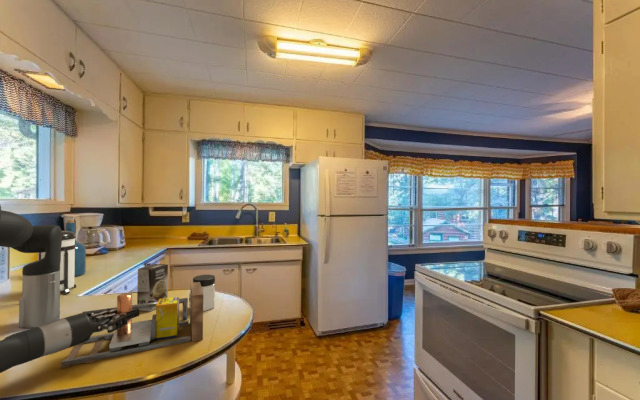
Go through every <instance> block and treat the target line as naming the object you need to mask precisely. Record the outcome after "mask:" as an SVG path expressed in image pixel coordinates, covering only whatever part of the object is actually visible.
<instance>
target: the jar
mask: <svg viewBox="0 0 640 400" xmlns="http://www.w3.org/2000/svg"><path fill="white" fill-rule="evenodd" d="M194 282H200V284H201V288H202V291H203V312H206V311H209V310H213V309H214V308H215V299H216V297H215V296H216V295H215V294H216V290H215V285H216V284H215V283H216V276H215V275H214V274H200V275H196V276H193V278H192V283H194Z"/></svg>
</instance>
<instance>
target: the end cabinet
mask: <svg viewBox="0 0 640 400" xmlns="http://www.w3.org/2000/svg"><path fill="white" fill-rule="evenodd" d="M189 287H190V288H189V289H190V290H189V291H190V292H189V297H188V302H189V316H190V317H189V321H190V322H189V324H190V325H189V326H190V337H191V341H192V342H197V341H202V340H203V338H204V337H203V336H204V311H203V291H202V288H201V284H200V282H194V283H193V282H190V285H189Z"/></svg>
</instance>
